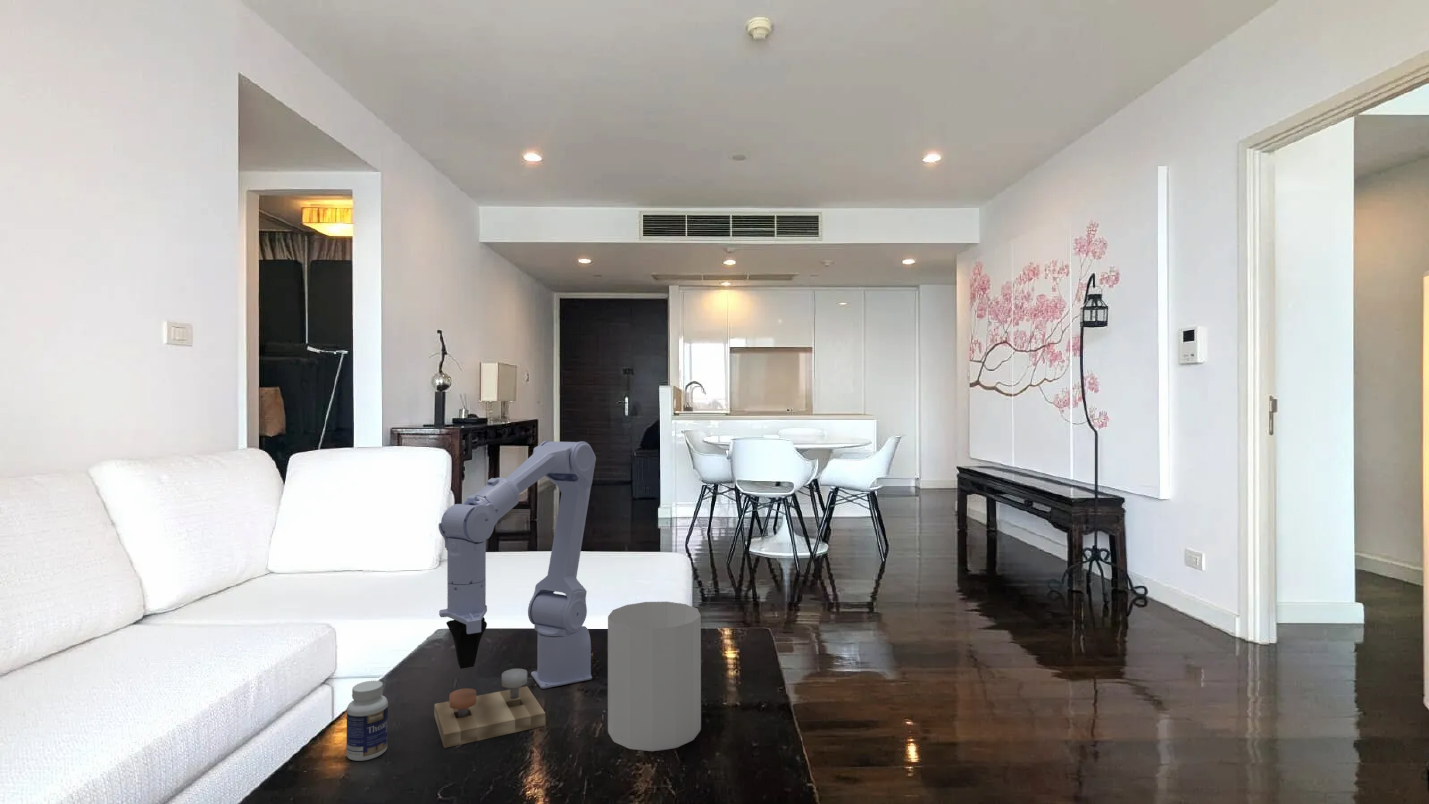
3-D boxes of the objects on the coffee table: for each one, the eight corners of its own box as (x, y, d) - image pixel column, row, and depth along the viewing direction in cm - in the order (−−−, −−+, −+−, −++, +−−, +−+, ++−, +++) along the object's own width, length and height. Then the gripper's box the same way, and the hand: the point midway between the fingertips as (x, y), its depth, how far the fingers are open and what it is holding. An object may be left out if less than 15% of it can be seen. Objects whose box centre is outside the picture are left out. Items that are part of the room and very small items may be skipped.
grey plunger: (523, 690, 115) (523, 667, 115) (529, 699, 111) (529, 675, 111) (499, 695, 113) (499, 671, 113) (504, 704, 109) (504, 679, 109)
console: (527, 697, 119) (527, 686, 119) (545, 725, 108) (545, 713, 108) (434, 716, 112) (434, 704, 112) (444, 748, 101) (444, 734, 101)
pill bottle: (370, 764, 97) (371, 694, 97) (337, 760, 98) (338, 691, 98) (395, 745, 102) (396, 680, 102) (364, 742, 103) (364, 677, 103)
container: (599, 718, 111) (599, 607, 112) (682, 703, 117) (681, 597, 117) (623, 760, 98) (623, 633, 98) (715, 740, 104) (715, 621, 104)
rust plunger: (473, 710, 111) (474, 686, 111) (478, 720, 107) (478, 695, 107) (447, 716, 109) (447, 691, 109) (451, 726, 105) (451, 700, 105)
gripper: (434, 573, 113) (434, 656, 113) (445, 594, 100) (445, 687, 100) (478, 568, 116) (478, 648, 116) (495, 588, 104) (495, 678, 104)
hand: (466, 666), depth 108 cm, fingers closed
